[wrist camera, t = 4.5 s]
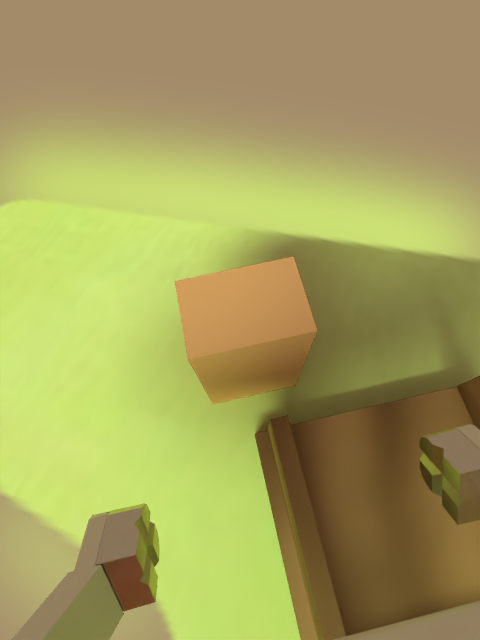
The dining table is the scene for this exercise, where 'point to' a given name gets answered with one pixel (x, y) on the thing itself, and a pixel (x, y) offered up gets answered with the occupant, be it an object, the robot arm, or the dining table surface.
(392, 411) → the walnut slot rack
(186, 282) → the terracotta block
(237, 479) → the dining table surface
